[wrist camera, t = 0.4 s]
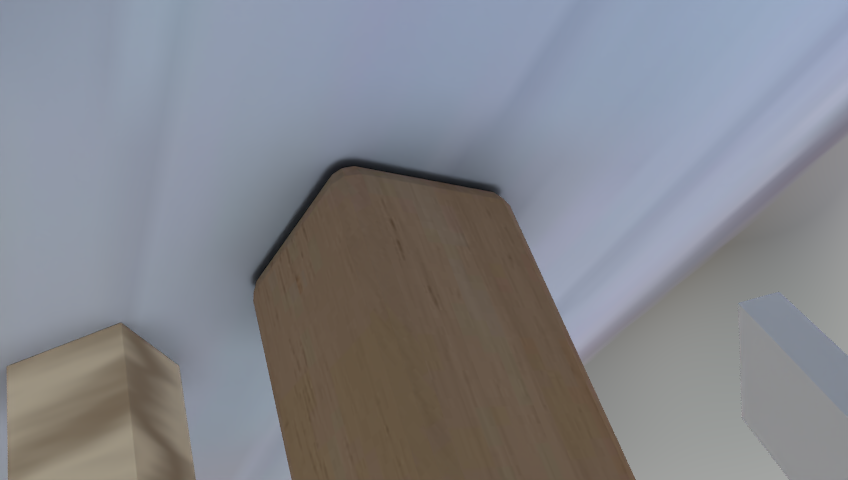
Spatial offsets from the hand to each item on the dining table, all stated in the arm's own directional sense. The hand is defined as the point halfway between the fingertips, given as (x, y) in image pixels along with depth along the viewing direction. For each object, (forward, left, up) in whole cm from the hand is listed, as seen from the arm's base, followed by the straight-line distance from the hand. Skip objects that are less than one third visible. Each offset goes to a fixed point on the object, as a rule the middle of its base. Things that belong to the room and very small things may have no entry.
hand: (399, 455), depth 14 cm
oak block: (+20, -17, -17) cm, 31 cm away
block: (+18, -1, -17) cm, 25 cm away
